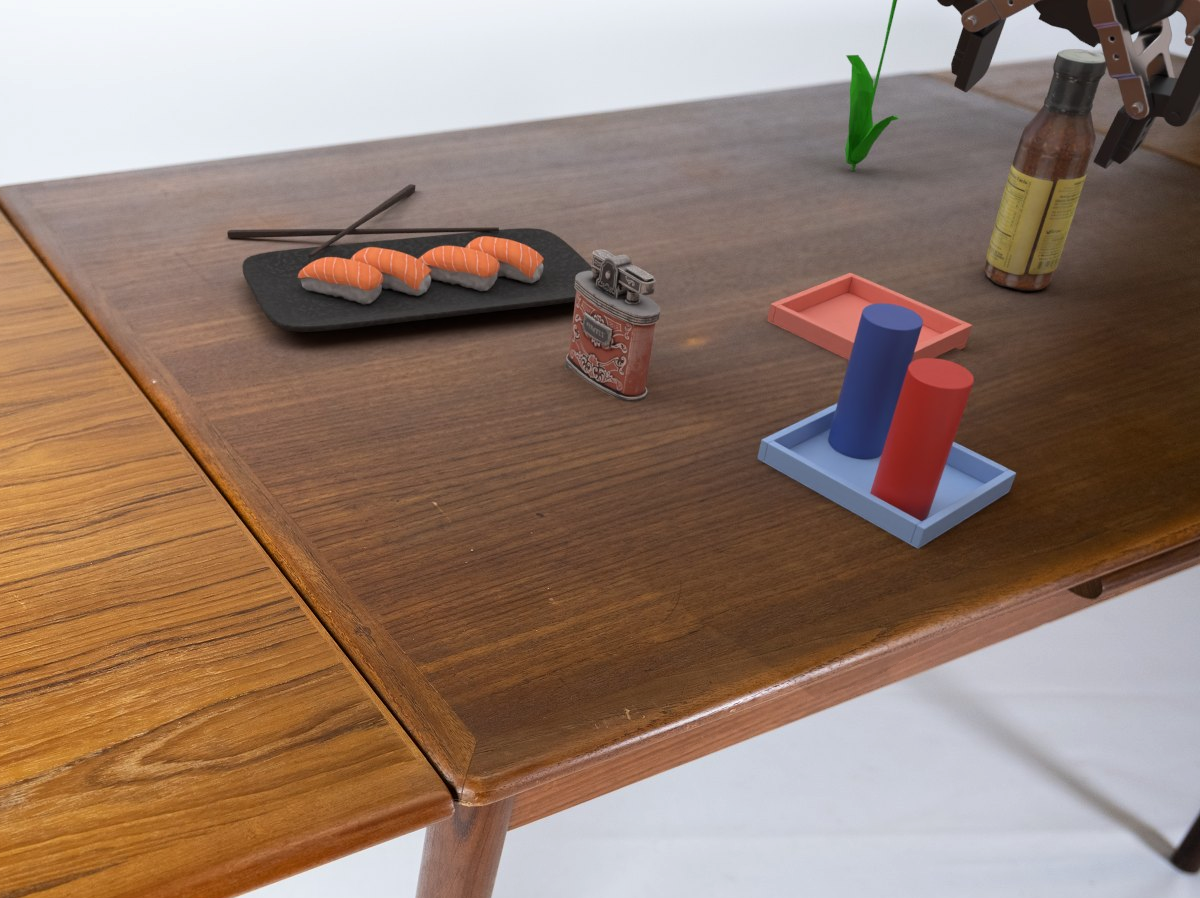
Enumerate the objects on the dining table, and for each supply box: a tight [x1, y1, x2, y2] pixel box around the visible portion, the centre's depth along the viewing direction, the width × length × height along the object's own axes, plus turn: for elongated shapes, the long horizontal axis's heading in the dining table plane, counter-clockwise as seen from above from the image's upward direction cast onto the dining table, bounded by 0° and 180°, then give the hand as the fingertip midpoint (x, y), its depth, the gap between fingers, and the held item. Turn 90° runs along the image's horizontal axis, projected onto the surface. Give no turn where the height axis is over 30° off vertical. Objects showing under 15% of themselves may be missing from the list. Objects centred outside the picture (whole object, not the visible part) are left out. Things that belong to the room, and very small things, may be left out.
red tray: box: [766, 272, 973, 362], centre depth 106 cm, size 12×11×2 cm
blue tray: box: [757, 403, 1017, 549], centre depth 88 cm, size 13×11×2 cm
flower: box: [844, 0, 899, 172], centre depth 130 cm, size 9×8×30 cm
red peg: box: [870, 357, 975, 521], centre depth 82 cm, size 4×4×10 cm
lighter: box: [564, 249, 661, 403], centre depth 94 cm, size 8×3×10 cm, turn 35°
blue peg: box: [828, 303, 923, 459], centre depth 88 cm, size 4×4×10 cm
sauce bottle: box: [983, 48, 1107, 292], centre depth 112 cm, size 6×6×20 cm
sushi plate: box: [226, 183, 592, 333], centre depth 112 cm, size 29×30×4 cm
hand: (1037, 118), depth 68 cm, fingers open, 8 cm apart
